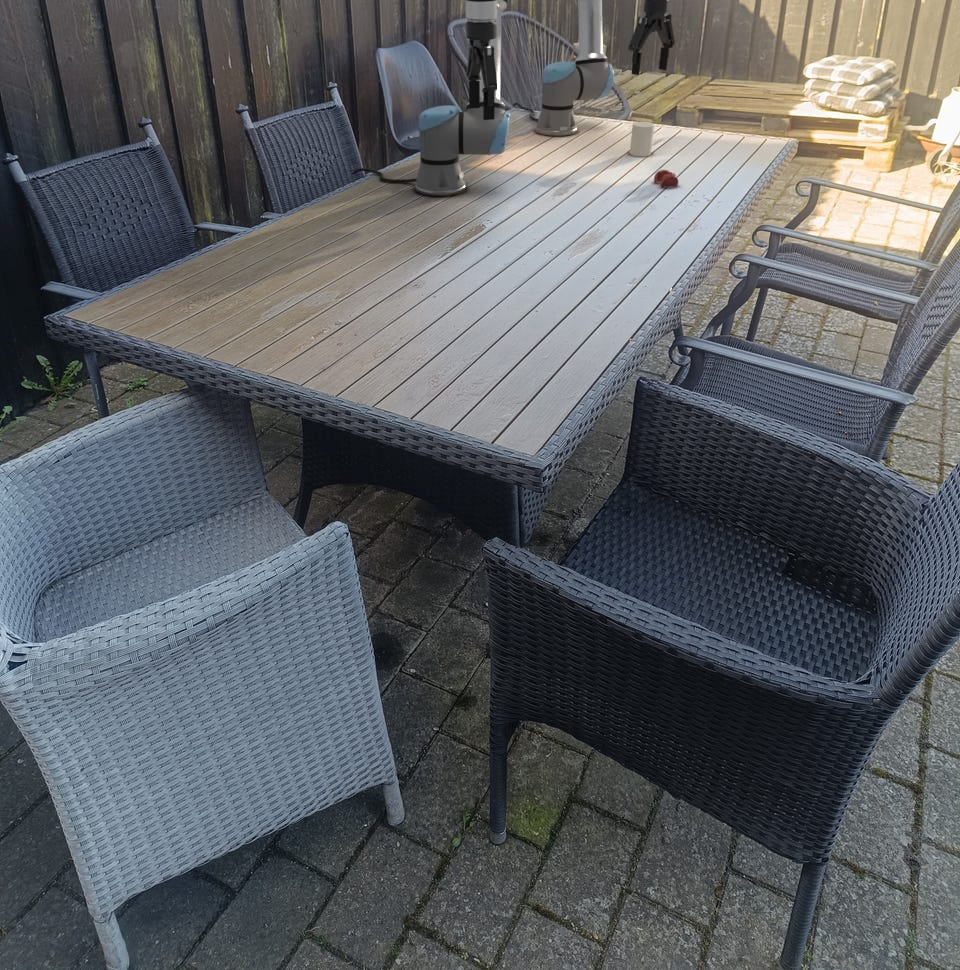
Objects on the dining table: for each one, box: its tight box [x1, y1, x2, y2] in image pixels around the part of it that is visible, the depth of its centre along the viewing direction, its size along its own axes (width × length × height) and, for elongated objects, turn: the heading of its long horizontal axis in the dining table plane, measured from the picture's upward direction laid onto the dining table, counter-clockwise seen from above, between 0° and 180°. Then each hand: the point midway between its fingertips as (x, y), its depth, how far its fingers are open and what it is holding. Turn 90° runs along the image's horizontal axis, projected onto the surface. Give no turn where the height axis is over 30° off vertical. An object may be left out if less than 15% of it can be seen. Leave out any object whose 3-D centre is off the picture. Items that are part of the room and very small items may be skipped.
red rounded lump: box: [653, 169, 679, 188], centre depth 261 cm, size 6×4×8 cm
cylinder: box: [629, 121, 655, 158], centre depth 290 cm, size 7×7×10 cm
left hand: (481, 113), depth 217 cm, fingers open, 13 cm apart
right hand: (649, 72), depth 277 cm, fingers open, 13 cm apart
